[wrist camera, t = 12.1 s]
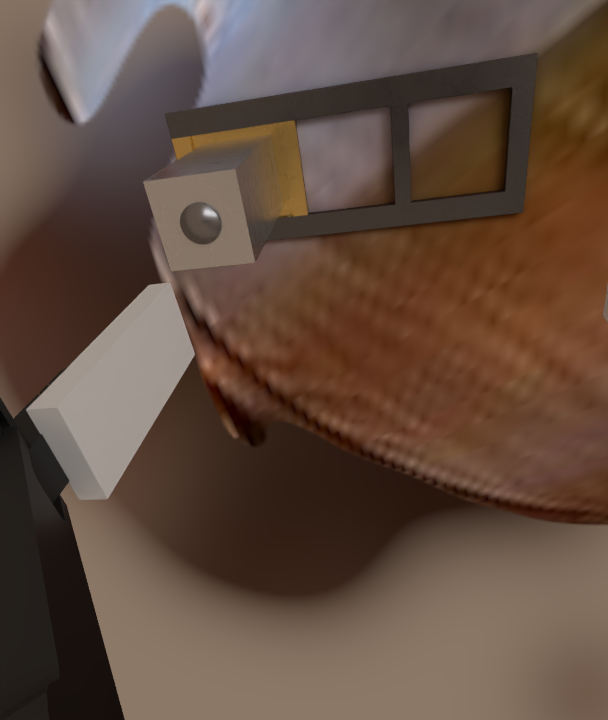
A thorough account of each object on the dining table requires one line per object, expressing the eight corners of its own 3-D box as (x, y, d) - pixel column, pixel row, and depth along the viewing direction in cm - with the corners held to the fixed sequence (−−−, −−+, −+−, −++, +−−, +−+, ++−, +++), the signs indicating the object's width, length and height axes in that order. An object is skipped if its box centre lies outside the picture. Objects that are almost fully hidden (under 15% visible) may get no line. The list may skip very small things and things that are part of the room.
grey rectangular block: (283, 206, 36) (254, 264, 27) (219, 214, 37) (170, 272, 28) (271, 133, 33) (234, 169, 24) (202, 144, 34) (141, 182, 25)
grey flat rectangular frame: (521, 210, 35) (523, 212, 34) (202, 245, 39) (201, 248, 38) (535, 52, 30) (537, 53, 29) (167, 113, 34) (164, 114, 33)
